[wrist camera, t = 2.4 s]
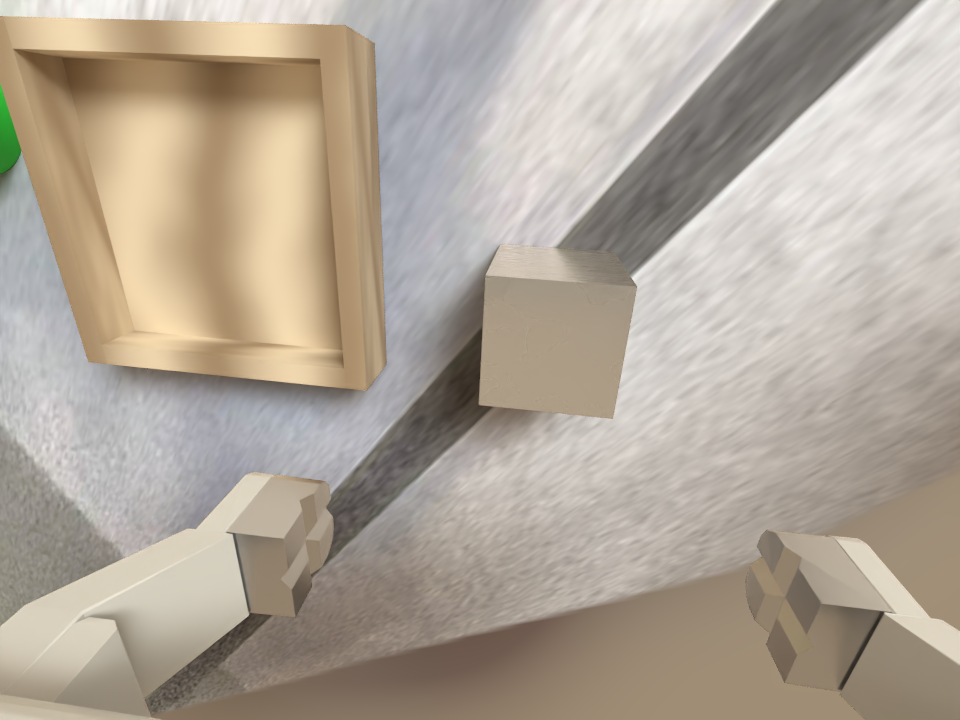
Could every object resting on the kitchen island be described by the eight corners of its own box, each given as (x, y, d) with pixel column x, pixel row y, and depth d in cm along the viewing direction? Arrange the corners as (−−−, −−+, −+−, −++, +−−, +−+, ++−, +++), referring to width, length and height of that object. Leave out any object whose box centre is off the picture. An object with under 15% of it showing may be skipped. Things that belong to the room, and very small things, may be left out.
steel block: (613, 251, 21) (637, 286, 16) (596, 355, 23) (612, 418, 18) (500, 243, 22) (485, 275, 16) (494, 346, 24) (478, 405, 18)
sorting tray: (374, 43, 19) (345, 25, 16) (386, 364, 25) (366, 390, 22) (54, 33, 20) (-22, 15, 18) (136, 339, 26) (88, 362, 23)
